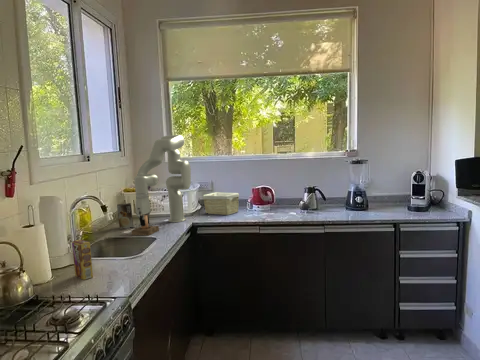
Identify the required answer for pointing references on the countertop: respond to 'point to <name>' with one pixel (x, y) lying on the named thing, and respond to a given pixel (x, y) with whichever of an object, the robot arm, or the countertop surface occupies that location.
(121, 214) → the coffee box
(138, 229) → the hole block
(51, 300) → the countertop surface
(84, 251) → the candy box
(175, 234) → the countertop surface
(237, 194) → the storage basket
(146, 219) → the peg
